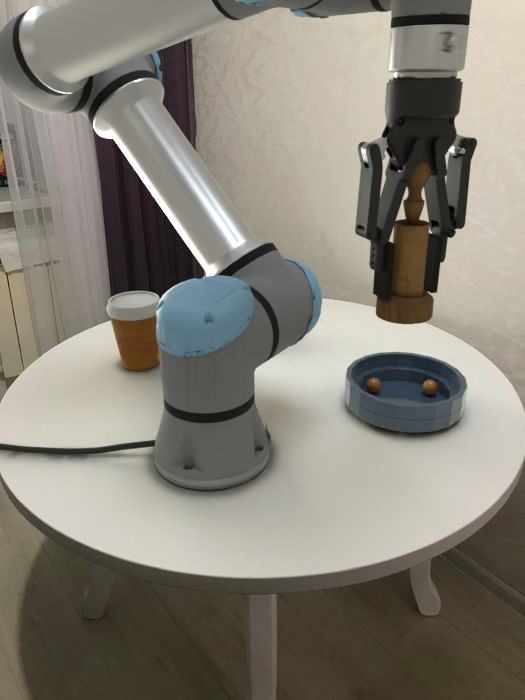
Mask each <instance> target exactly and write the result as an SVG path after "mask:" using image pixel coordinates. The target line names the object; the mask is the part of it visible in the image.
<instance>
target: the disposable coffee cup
mask: <svg viewBox="0 0 525 700" xmlns="http://www.w3.org/2000/svg"><path fill="white" fill-rule="evenodd" d="M160 299H161V297H160V296H159V294H157V293H155V292H152V291H147V290H132V291H130V290H129V291H124V292H121V293H117V294H115V295H113V296H110V297H109V298H108V300H107V305H106V307H105V311H106V313H107V314H108V316H109V318H110V322H111V326H112V330H113V335H114V337H115V341H116V345H117V348H118V352H119V353H118V354H119V356H120V360H121V364H122V367H123V368H125V369H127V370H130V371H144V370H149V369H151V368H154V367H156V366H157V365H158V364H159V362H160V360H159V351H158V342H157V338H156V325H157V306H158V303H159V301H160Z"/></svg>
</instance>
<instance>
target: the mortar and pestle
mask: <svg viewBox="0 0 525 700" xmlns="http://www.w3.org/2000/svg"><path fill="white" fill-rule="evenodd" d="M430 175H431V167H430V165H429V164H428V163H426V162H421V163H419V164H418V165H417V166H416V168H415V172H414V175H413V178H412V180H411V181H410V182H409V183H408V184H407V187H406V189H407V193H408V194H407V196H406V198H405V199H403V200H402V203H403V212H404V217H405V218H401V219H396V221H395V224H394V227H393V232H392V233H393V236H392V243H395V244H396V245H395V257H394V269H393V281H392V294H391V300H387V301H385V300H383V299H381V298H380V297H378V296H376V302H375V316H376V317H377V318H378V319H381V320H382V321H384V322H389V323H390V324H391V323H392V324H398V325H415V324H423V323H427V322H428V321H430V320H431V319H432V318H433V314H434V301H435V299H434V297H433V295H432V294H431V293H430V292H428V291H426V290H425V289H423V288H424V276H425V264H426V254H427V244H428V235H429V233H430V223H429V221H428V220H423V219H421V215H422V213H423V210H424V206H425V204H426V200H424V199H423V195H422V192H423V190H424V186H425V184H426V182H427V181H428V179H429V177H430Z"/></svg>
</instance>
